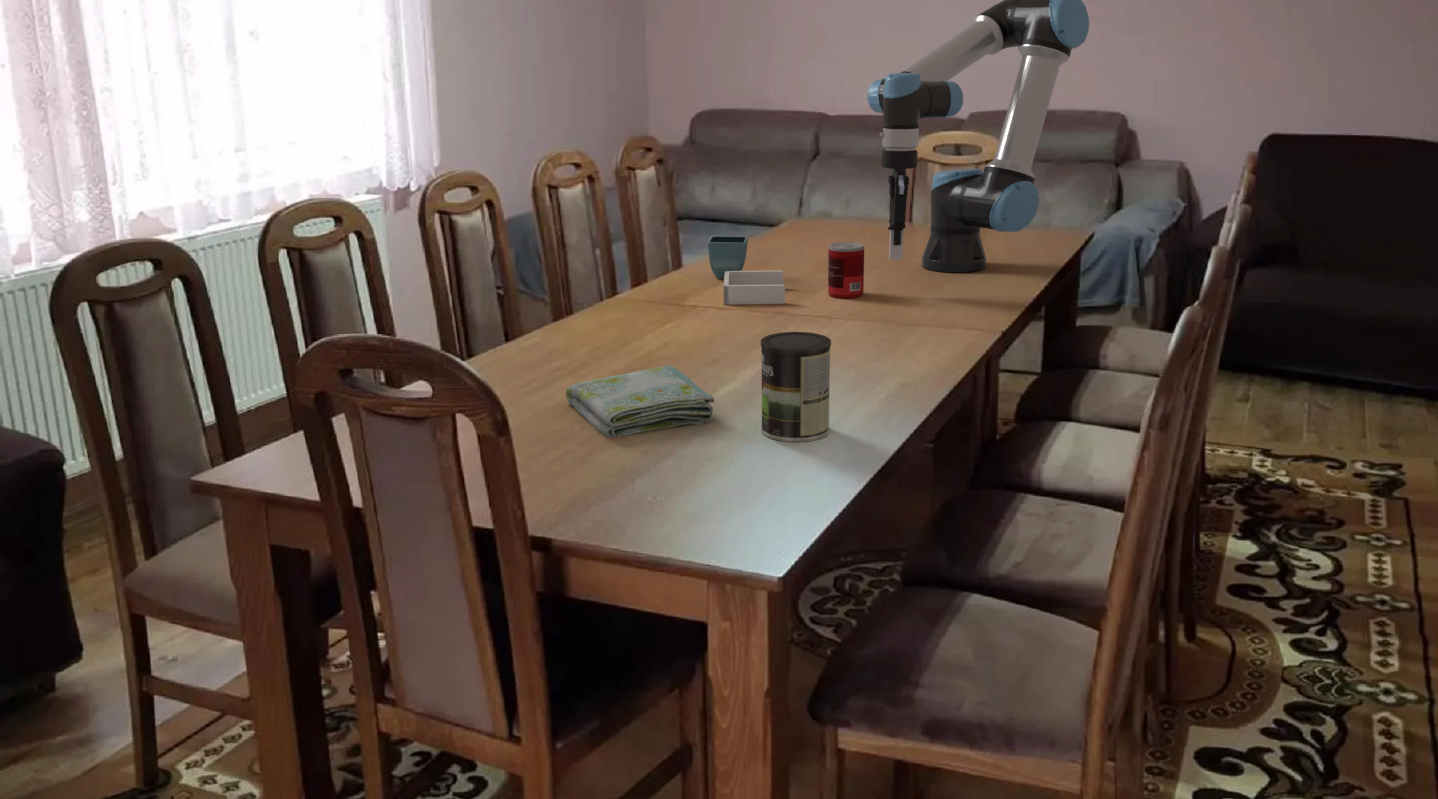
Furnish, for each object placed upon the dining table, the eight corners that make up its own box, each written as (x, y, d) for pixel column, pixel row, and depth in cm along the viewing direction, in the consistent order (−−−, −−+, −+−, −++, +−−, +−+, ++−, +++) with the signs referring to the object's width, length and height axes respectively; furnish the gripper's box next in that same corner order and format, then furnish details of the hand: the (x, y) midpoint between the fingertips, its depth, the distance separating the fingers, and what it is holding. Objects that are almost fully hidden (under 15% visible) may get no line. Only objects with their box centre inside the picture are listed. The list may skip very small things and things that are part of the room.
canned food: (867, 292, 281) (867, 242, 278) (858, 300, 274) (859, 249, 271) (833, 290, 284) (833, 241, 281) (824, 298, 277) (824, 247, 273)
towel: (607, 443, 188) (605, 410, 187) (565, 404, 207) (563, 374, 205) (720, 426, 195) (719, 394, 193) (669, 390, 214) (668, 360, 212)
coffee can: (765, 444, 185) (764, 350, 181) (757, 422, 195) (756, 332, 191) (835, 441, 186) (836, 347, 182) (824, 419, 196) (824, 330, 192)
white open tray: (783, 288, 287) (783, 270, 286) (784, 303, 272) (784, 285, 270) (725, 288, 287) (724, 271, 286) (723, 304, 272) (723, 286, 271)
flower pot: (748, 273, 304) (748, 235, 301) (745, 281, 295) (745, 242, 292) (711, 273, 304) (711, 235, 302) (707, 280, 296) (707, 242, 293)
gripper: (879, 145, 276) (875, 254, 282) (885, 151, 263) (881, 264, 270) (913, 145, 276) (909, 254, 282) (921, 151, 263) (916, 264, 270)
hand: (895, 259), depth 276 cm, fingers closed
